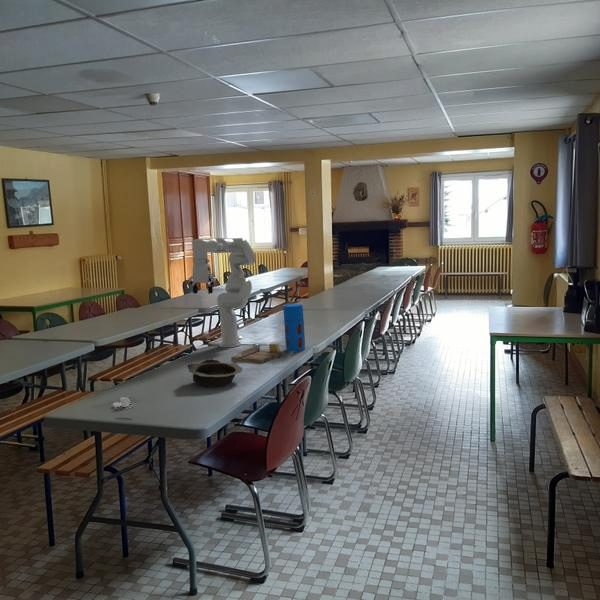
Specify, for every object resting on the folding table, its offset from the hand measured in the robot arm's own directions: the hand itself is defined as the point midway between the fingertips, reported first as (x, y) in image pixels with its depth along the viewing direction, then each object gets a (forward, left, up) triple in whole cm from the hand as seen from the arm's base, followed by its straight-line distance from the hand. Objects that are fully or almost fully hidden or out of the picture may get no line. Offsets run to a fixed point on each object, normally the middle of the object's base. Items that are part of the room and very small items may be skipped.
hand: (203, 293), depth 324 cm
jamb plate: (-3, +32, -34) cm, 47 cm away
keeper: (-11, +37, -32) cm, 51 cm away
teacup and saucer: (+86, +27, -35) cm, 96 cm away
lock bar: (-2, +27, -32) cm, 42 cm away
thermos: (-27, +41, -35) cm, 60 cm away
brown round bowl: (+45, +42, -35) cm, 71 cm away
